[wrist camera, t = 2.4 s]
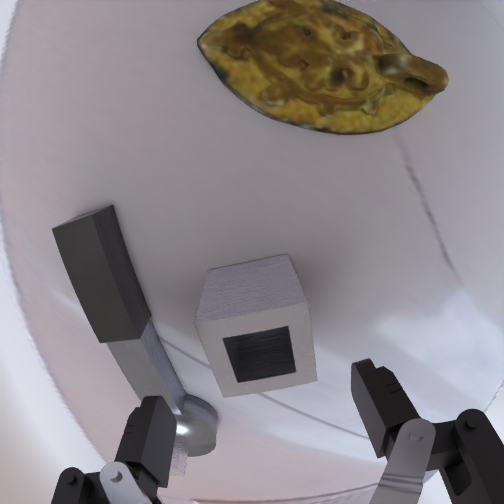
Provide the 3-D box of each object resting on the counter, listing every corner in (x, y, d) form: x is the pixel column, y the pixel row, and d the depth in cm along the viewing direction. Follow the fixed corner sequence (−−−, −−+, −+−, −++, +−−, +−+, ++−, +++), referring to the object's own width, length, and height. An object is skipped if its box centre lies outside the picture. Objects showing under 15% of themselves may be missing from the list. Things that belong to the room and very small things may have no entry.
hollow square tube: (208, 270, 18) (194, 323, 12) (287, 253, 18) (308, 301, 12) (227, 334, 19) (223, 397, 14) (298, 320, 19) (317, 380, 14)
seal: (196, 123, 16) (416, 150, 17) (178, 124, 12) (456, 162, 12) (206, -6, 12) (422, 33, 12) (194, -39, 8) (460, 21, 8)
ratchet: (225, 430, 23) (223, 486, 17) (165, 433, 24) (155, 484, 17) (134, 197, 16) (80, 224, 10) (58, 223, 16) (-3, 256, 10)
